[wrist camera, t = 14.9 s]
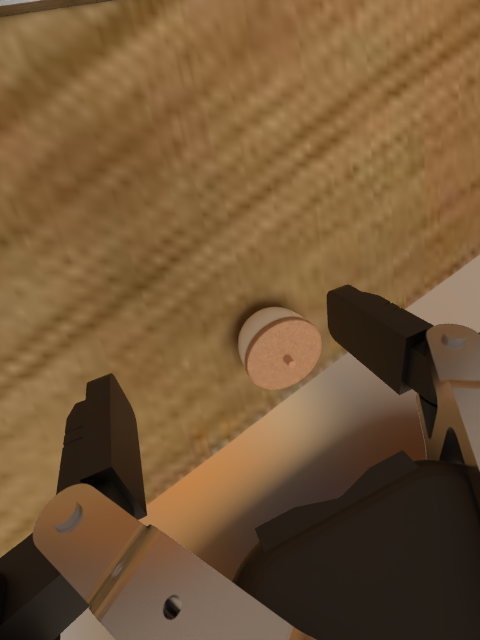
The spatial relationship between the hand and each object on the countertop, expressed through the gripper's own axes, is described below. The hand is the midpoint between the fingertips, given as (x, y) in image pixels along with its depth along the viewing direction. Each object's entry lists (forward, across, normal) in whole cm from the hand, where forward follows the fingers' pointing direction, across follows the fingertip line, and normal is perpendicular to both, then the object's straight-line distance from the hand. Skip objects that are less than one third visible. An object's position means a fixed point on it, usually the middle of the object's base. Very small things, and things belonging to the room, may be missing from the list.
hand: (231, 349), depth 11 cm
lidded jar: (+28, -10, +20) cm, 36 cm away
